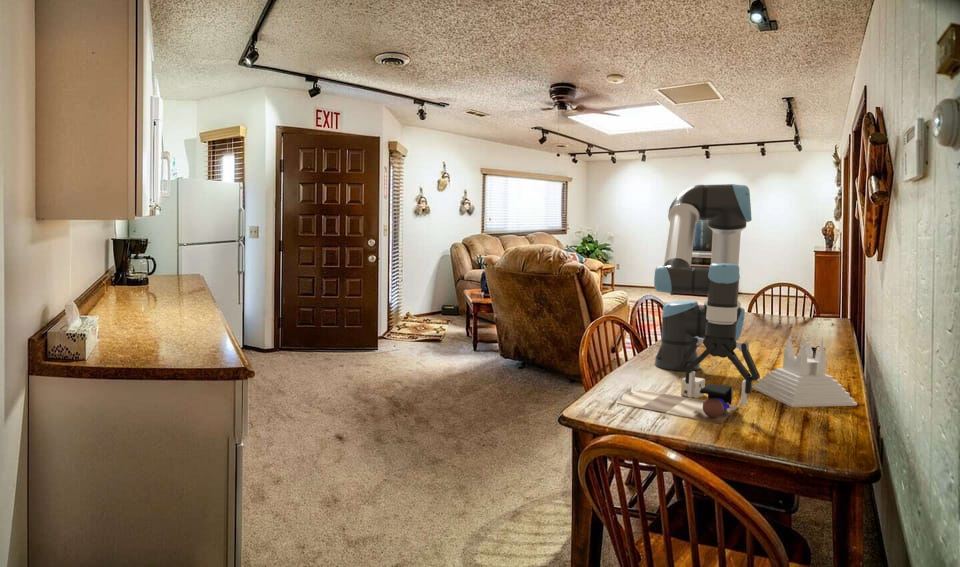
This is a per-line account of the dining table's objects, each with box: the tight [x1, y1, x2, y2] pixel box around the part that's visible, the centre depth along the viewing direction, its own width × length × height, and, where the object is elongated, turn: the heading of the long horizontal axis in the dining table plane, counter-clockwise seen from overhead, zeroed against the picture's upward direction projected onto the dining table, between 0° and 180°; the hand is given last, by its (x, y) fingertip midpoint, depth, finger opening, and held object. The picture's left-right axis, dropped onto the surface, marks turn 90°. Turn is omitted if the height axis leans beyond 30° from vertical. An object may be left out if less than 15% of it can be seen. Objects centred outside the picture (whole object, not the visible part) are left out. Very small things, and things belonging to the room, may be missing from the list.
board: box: [616, 389, 739, 425], centre depth 172 cm, size 18×28×1 cm, turn 54°
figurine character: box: [700, 383, 734, 418], centre depth 166 cm, size 7×8×15 cm
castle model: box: [751, 334, 858, 408], centre depth 184 cm, size 20×20×18 cm
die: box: [680, 376, 706, 399], centre depth 183 cm, size 5×5×5 cm
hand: (716, 400), depth 166 cm, fingers open, 13 cm apart
